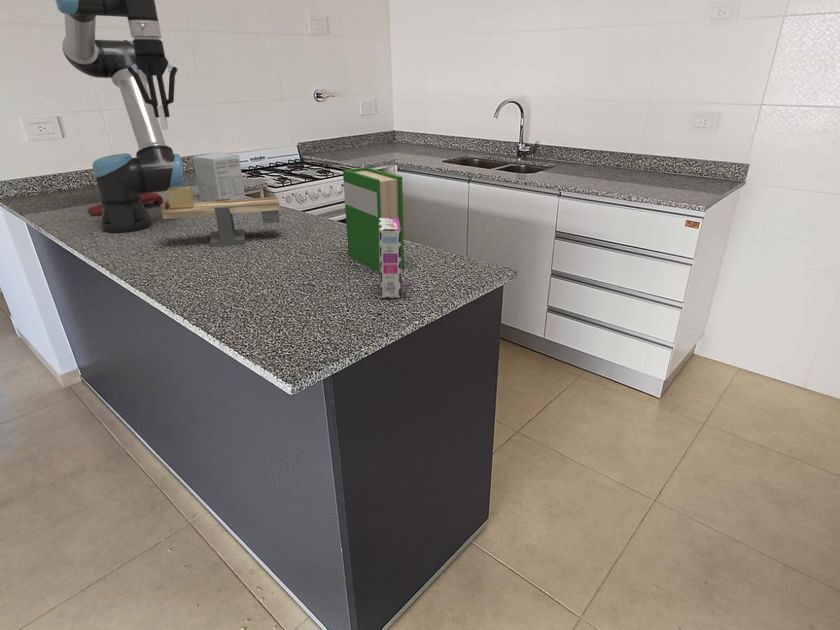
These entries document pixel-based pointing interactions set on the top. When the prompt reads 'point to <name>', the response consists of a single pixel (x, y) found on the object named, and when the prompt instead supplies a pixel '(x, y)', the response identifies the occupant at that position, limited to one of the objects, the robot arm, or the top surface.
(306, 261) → the top surface
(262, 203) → the beam
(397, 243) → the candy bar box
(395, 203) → the hardback book
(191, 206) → the rider
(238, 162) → the supplement box
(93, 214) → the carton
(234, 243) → the pivot stand
